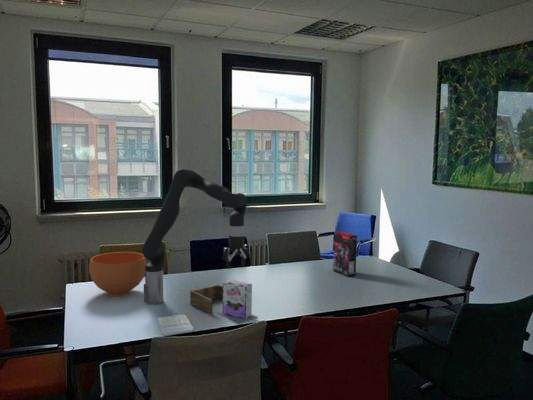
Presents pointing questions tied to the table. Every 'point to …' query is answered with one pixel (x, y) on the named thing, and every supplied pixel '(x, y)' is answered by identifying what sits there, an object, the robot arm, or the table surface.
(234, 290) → the candy box
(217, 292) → the walnut u-shaped frame
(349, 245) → the graphics card box
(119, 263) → the bowl
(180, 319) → the calculator
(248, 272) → the table surface
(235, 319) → the slate mat
